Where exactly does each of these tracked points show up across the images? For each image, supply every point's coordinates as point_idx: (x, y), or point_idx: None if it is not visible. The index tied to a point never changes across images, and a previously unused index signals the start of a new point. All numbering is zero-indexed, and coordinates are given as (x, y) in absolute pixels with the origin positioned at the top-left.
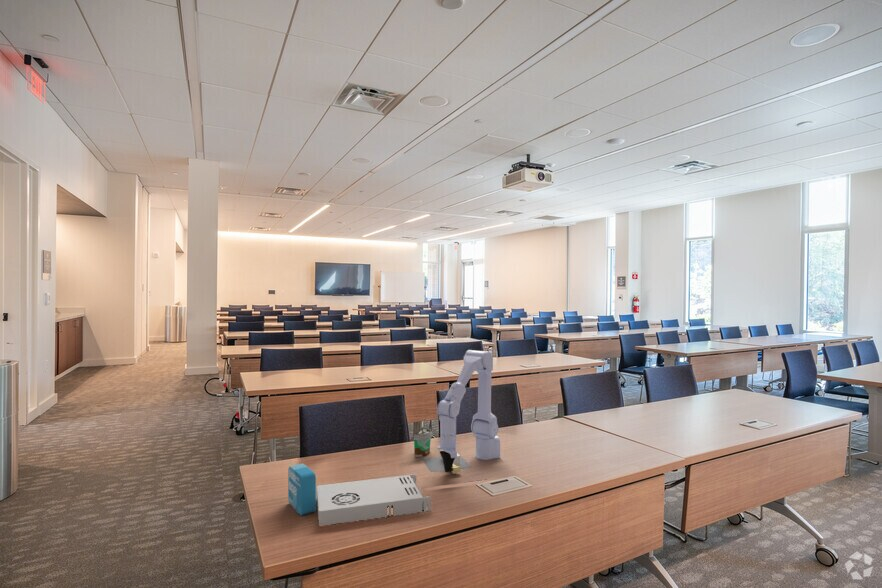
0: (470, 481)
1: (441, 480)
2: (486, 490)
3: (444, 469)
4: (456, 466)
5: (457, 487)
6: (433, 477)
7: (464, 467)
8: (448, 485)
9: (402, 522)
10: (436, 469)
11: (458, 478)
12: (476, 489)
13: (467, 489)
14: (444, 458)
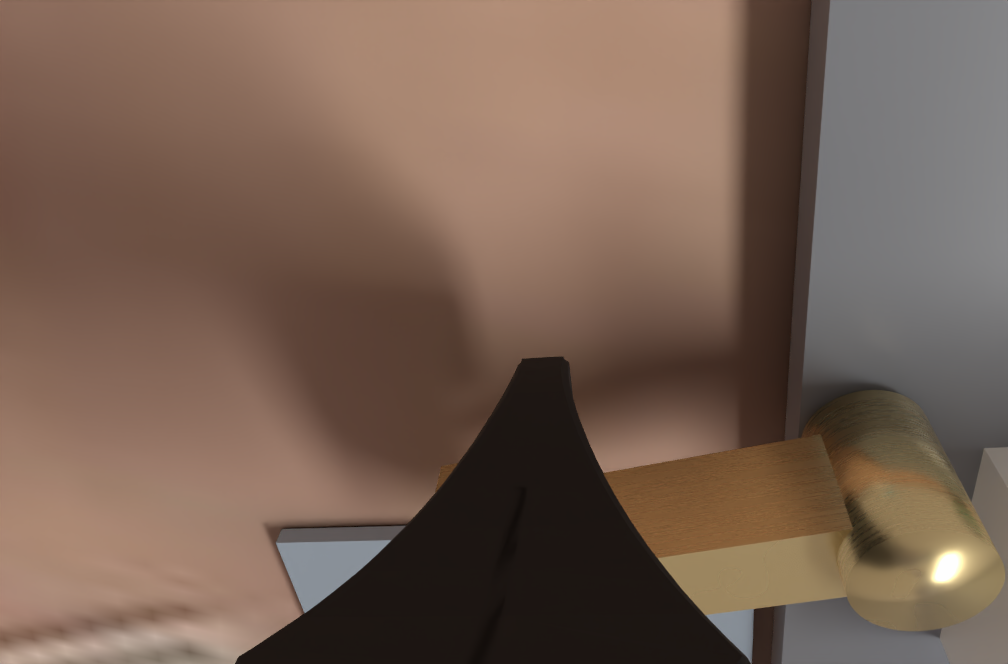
0: (304, 584)
1: (387, 184)
2: (27, 653)
3: (843, 358)
4: None
5: (67, 383)
6: (592, 31)
7: (798, 661)
8: (135, 266)
9: None
10: (924, 187)
11: None
12: (37, 577)
13: (15, 488)
14: (314, 628)
